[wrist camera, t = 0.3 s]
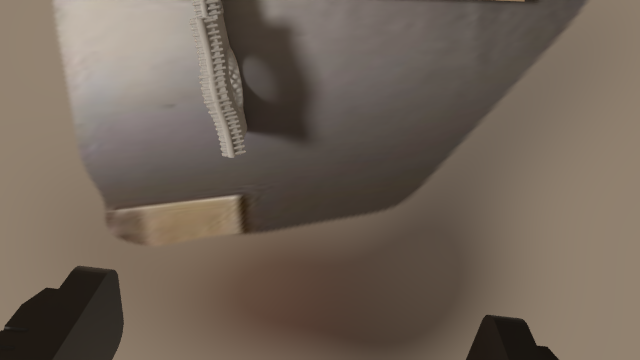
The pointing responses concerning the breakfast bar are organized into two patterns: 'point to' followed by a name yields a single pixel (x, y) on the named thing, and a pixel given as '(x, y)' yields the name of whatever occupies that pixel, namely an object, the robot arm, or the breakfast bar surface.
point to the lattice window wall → (219, 75)
